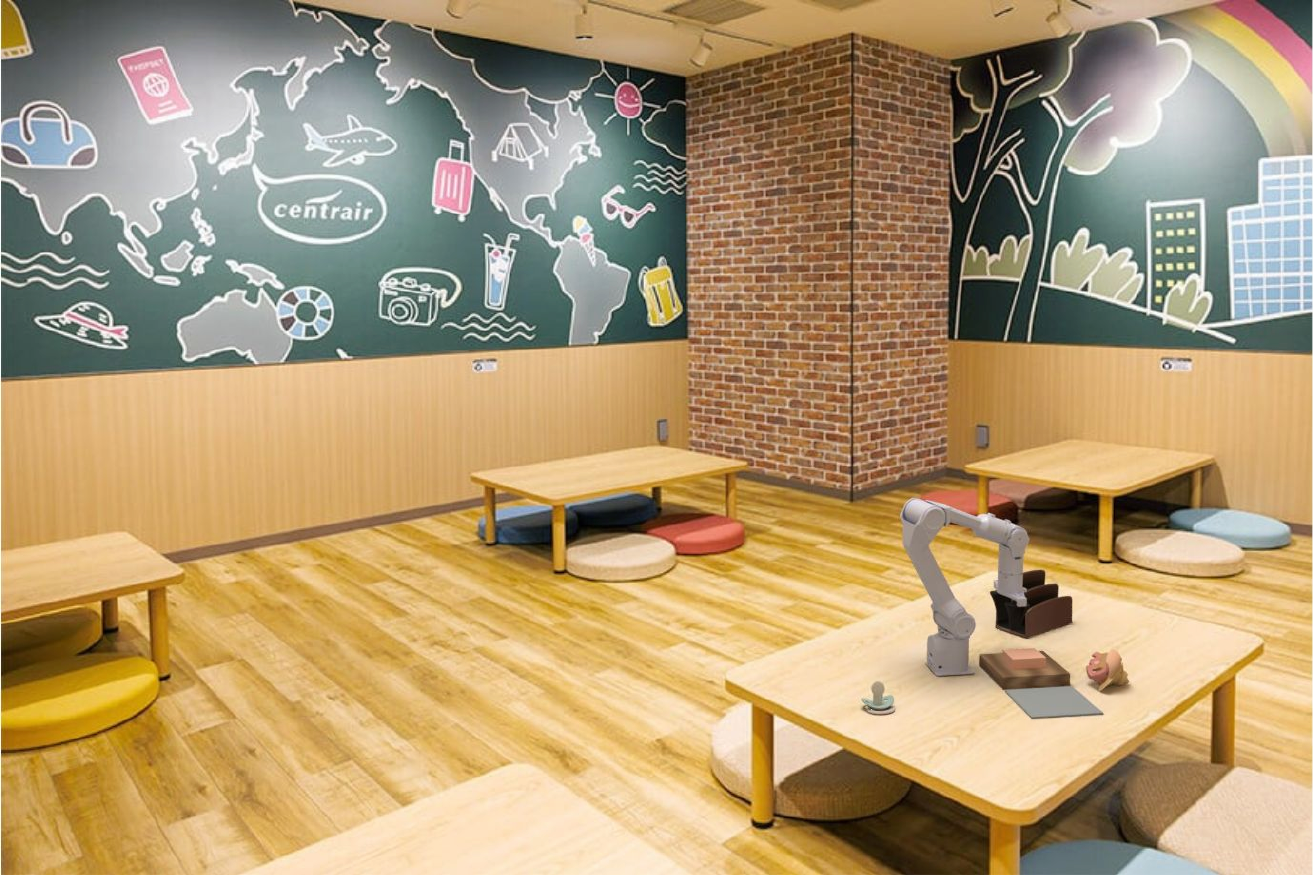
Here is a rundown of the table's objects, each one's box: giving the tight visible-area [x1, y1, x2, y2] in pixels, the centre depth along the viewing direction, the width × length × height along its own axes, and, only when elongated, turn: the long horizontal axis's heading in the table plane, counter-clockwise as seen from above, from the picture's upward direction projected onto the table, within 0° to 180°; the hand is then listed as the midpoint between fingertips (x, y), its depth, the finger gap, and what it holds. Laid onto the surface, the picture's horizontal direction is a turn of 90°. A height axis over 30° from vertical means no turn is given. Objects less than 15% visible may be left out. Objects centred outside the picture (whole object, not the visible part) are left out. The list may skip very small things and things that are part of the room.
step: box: [978, 650, 1071, 691], centre depth 233 cm, size 16×14×3 cm
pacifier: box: [861, 680, 896, 716], centre depth 217 cm, size 7×6×6 cm
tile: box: [1001, 647, 1046, 670], centre depth 232 cm, size 8×6×2 cm
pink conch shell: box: [1085, 648, 1130, 692], centre depth 225 cm, size 9×10×10 cm
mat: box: [1004, 685, 1104, 720], centre depth 218 cm, size 16×14×1 cm
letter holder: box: [994, 569, 1073, 640], centre depth 263 cm, size 10×20×14 cm, turn 123°
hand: (1008, 624), depth 240 cm, fingers open, 7 cm apart
